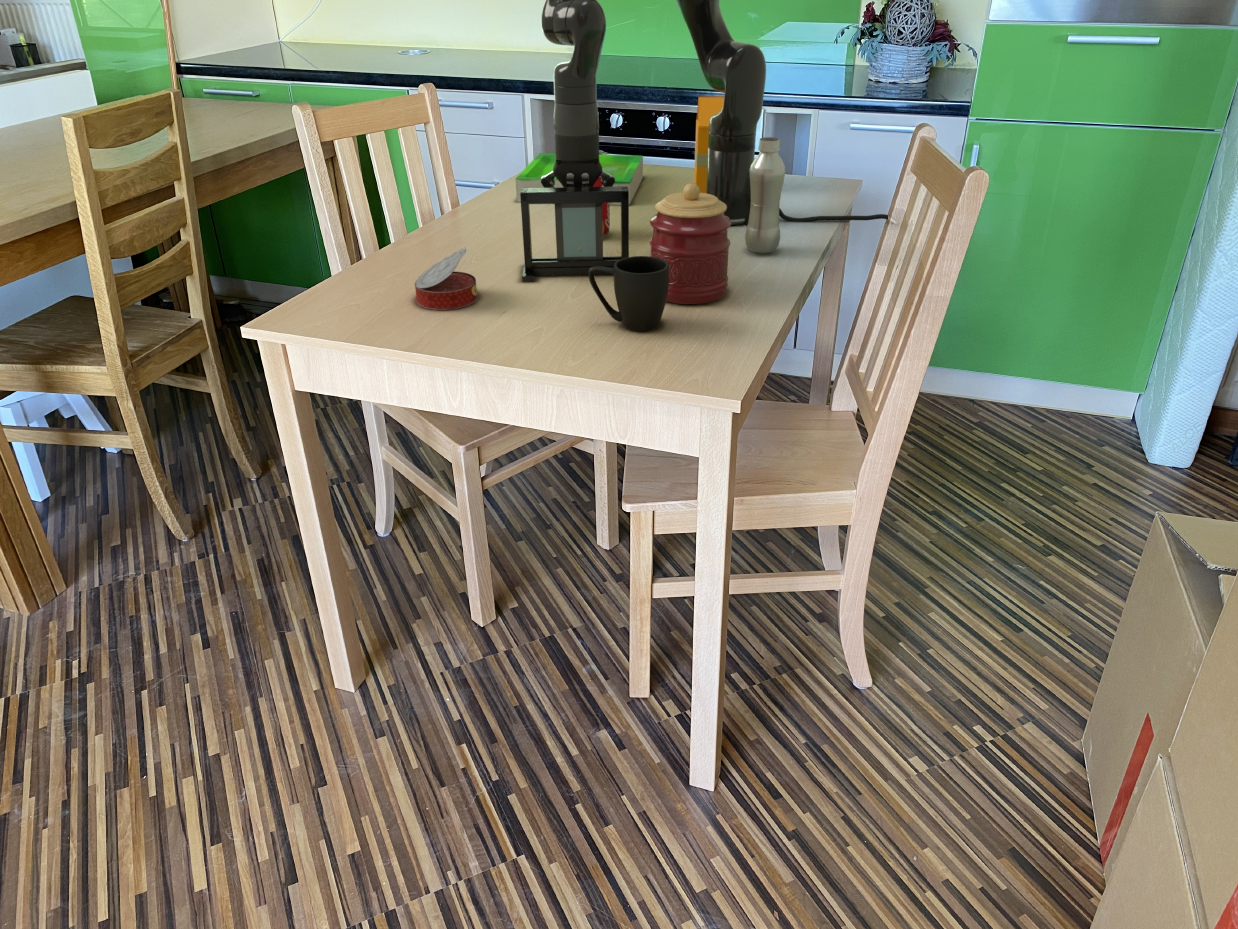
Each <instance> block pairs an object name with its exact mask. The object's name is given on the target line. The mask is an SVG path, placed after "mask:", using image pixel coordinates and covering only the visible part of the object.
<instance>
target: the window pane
mask: <svg viewBox="0 0 1238 929" xmlns="http://www.w3.org/2000/svg"><path fill="white" fill-rule="evenodd" d="M554 223H555V241H556V242H555V245H556V246H555V247H556V258H557V261H578V260H603V257H604V237H603V225H602V203H564V204H554Z"/></svg>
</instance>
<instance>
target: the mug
mask: <svg viewBox="0 0 1238 929" xmlns="http://www.w3.org/2000/svg"><path fill="white" fill-rule="evenodd" d="M595 270H600V271H605V272H608V273H610V274H612V275H611V276H613V289H614V296H615V301H616V304H617V305H616V306H617V309H618V310H616V309H614V308H613V307H612V306H611V305H610V304H609V302H608V301H607V299H606V298H605V296H604V294H603V292H602V291H601V289H600V287H599V285H598V284H597V280H596V278H595V277H596V276H594V271H595ZM588 280H589V283H590V285H591V288H592V289H593V291H594V293H595V294H596V296H597V298H598V299H599V301H600V302H601V304H602V306H603V307H604V309H605V311H606V312H607V313H608V314H609V316H610V317H611V318H612V319H613V320H614V321H616V322H619V323H622V326H623V327H624V328H625V329H626V330H629V331H630V332H631V331H632V332H639V333H642V332H643V333H644V332H651V331H654V330H656V329H658V328H659V326H660V322H661V321H662V317H663V314H664V311H665V307H666V303H667V301H666V299H667V294H668V286H669V264H668V262H667V261H665V260H663V259H660V258H656V257H651V255H650V256H648V255H634V256H629V257H627V258H623V259H620V260H618V261H616V262H615V263H614V269H612V268H608V267H602V266H593V267H591V268H590V269H589V276H588Z"/></svg>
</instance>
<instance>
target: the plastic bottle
mask: <svg viewBox="0 0 1238 929" xmlns="http://www.w3.org/2000/svg"><path fill="white" fill-rule="evenodd" d="M758 141H759V142H758V148H757V150H758V151H759V153H758V154H757V155H756V157H754V161H753V163H752V164H751V167H750V188H751V207H750V215H749V222H748V224H747V226H746V229H745V235H744V240H745V241H744V242H745V246H746V247H747V249H748V250H749V251H751V252H754V253H771V252H774V251H776V250H777V248H778V247H779V245H780V241H781V229H780V228H781V226H780V216H779V208H780V204H781V202H780V201H781V198H782V190H783V187H784V182H785V176H786V166H785V163H784V162H783V159H782V158H781V156H780V154H779V152H780V151H781V147H780V146H781V138H778V137H774V136H764V137H761V138H759V140H758Z"/></svg>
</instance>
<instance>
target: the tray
mask: <svg viewBox="0 0 1238 929" xmlns="http://www.w3.org/2000/svg"><path fill="white" fill-rule="evenodd" d="M599 162H600V164H601V166H602V170H603V171H605V172H607V173H608V174H613V175H614V176H615V183H614V184H613V186H612V187H622V186H628V190H629V206H630V205H631V203H632V201H633V199H634V197H635V194H636V193H637V190H638V188H639V187H640V184H641V182H642V180H643V178H644V155H631V154H629V155H626V154H599ZM554 165H555V153H552V152H551V153H549V152H540V153H538V154H537V155H536V156H535V158H534V159H532V160H531V162H530V163H529V164H527V166H525V168H524V169H523V170H522V171H521V172H520V173H519V174H518V175H517V177H515V179H514V180H515V193H516V202H517V203H521V198H520V192H521V188H544V187H543V185H542V184H541V177H542V176H543V175H547V174H549V173H550V172H552V171H553V167H554ZM554 180H555V185H554V187H555V188H562V187H563V186H562V184H561V183H560V182H559V181H558V179H557V178H556V177H555V178H554ZM610 205H611V206H621V203H610Z"/></svg>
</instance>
